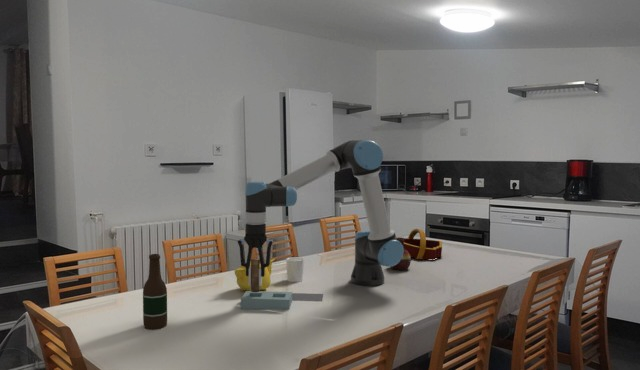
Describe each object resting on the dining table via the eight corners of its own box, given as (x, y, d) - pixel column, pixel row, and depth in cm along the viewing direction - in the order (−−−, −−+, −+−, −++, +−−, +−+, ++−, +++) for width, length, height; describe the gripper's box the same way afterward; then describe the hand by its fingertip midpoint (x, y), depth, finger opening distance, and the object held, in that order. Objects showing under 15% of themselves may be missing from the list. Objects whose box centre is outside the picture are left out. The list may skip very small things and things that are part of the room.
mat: (323, 294, 207) (323, 293, 207) (322, 302, 197) (322, 301, 197) (289, 293, 208) (289, 293, 208) (286, 301, 198) (286, 300, 198)
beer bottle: (146, 322, 172) (145, 252, 171) (169, 321, 173) (169, 252, 171) (140, 330, 164) (139, 257, 163) (164, 329, 165) (164, 257, 163)
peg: (261, 290, 193) (261, 259, 192) (256, 292, 190) (257, 261, 189) (253, 289, 194) (253, 258, 193) (249, 291, 191) (249, 260, 190)
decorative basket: (446, 265, 273) (451, 238, 272) (392, 256, 273) (397, 229, 273) (434, 254, 306) (438, 229, 306) (386, 245, 307) (390, 221, 306)
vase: (385, 269, 252) (386, 239, 251) (391, 265, 262) (391, 235, 261) (407, 272, 248) (408, 240, 246) (412, 267, 258) (413, 237, 257)
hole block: (292, 302, 197) (292, 292, 196) (289, 310, 187) (289, 299, 186) (246, 301, 197) (246, 290, 197) (240, 309, 188) (240, 298, 187)
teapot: (283, 289, 215) (283, 260, 214) (244, 297, 202) (244, 267, 201) (265, 282, 225) (265, 254, 224) (226, 290, 212) (225, 261, 211)
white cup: (301, 283, 224) (301, 261, 223) (284, 282, 225) (284, 260, 225) (305, 279, 232) (305, 257, 231) (288, 278, 233) (288, 256, 232)
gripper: (278, 222, 193) (277, 282, 195) (236, 221, 194) (236, 281, 196) (275, 225, 186) (275, 288, 188) (232, 224, 187) (231, 286, 188)
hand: (255, 284), depth 192 cm, fingers closed on peg, 3 cm apart
